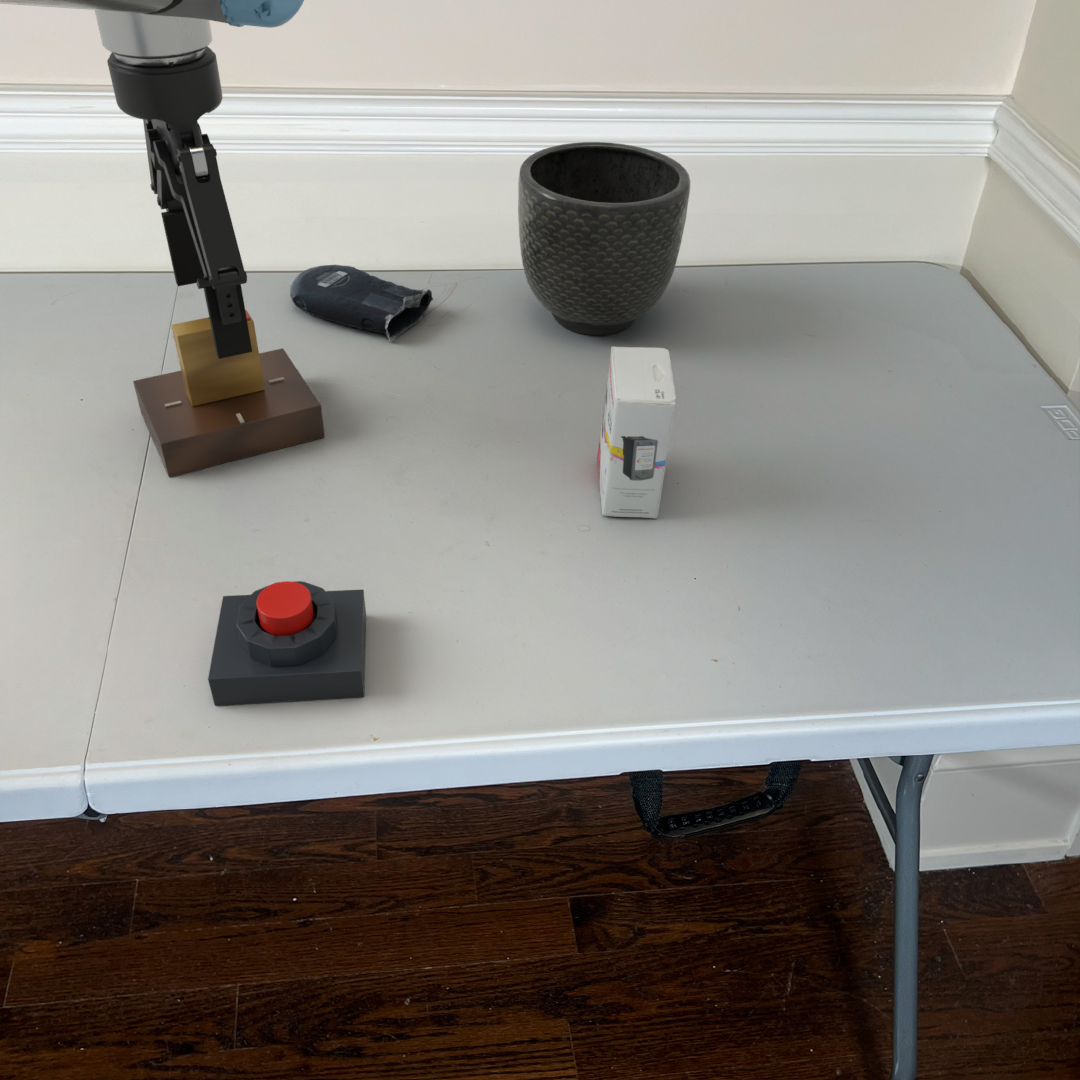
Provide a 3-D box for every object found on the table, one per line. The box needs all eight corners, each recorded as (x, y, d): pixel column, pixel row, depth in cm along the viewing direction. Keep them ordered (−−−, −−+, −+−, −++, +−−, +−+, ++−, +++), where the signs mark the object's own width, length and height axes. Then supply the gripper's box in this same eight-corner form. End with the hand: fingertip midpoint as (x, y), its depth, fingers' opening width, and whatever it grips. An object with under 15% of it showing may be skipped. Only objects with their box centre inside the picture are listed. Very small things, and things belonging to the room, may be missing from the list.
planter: (531, 362, 105) (537, 210, 95) (502, 284, 118) (505, 143, 108) (692, 350, 108) (715, 202, 98) (647, 276, 121) (663, 138, 111)
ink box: (596, 458, 93) (607, 342, 85) (652, 460, 93) (667, 344, 85) (600, 519, 86) (612, 400, 79) (660, 521, 86) (678, 402, 79)
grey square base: (214, 706, 70) (202, 660, 67) (228, 622, 76) (218, 577, 73) (364, 697, 71) (358, 652, 68) (366, 615, 77) (361, 570, 74)
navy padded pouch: (436, 319, 114) (326, 269, 118) (437, 278, 110) (322, 227, 113) (388, 366, 109) (274, 312, 112) (387, 324, 104) (268, 270, 108)
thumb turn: (192, 406, 91) (176, 333, 86) (186, 394, 92) (170, 321, 87) (264, 389, 93) (253, 318, 88) (257, 378, 95) (246, 306, 90)
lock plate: (168, 477, 89) (160, 442, 86) (141, 413, 96) (132, 379, 94) (325, 437, 94) (321, 403, 92) (287, 379, 101) (282, 346, 99)
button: (257, 637, 69) (253, 619, 68) (262, 600, 72) (259, 582, 71) (312, 635, 69) (309, 616, 68) (315, 598, 72) (312, 579, 71)
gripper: (263, 96, 67) (302, 376, 81) (172, 2, 83) (217, 248, 97) (145, 111, 64) (206, 399, 78) (75, 10, 81) (135, 263, 95)
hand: (212, 316), depth 88 cm, fingers open, 13 cm apart
